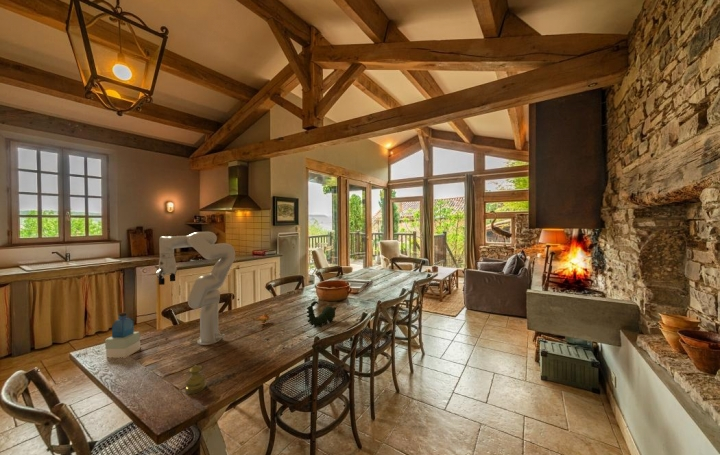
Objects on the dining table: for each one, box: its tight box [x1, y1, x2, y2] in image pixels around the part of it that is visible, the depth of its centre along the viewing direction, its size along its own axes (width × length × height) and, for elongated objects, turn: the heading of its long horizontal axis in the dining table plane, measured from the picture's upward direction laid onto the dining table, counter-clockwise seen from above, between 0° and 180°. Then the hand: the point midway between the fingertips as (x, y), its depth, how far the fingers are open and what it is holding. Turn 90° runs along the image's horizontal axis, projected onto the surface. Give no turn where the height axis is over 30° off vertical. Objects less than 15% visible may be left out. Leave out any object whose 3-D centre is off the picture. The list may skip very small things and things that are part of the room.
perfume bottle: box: [111, 311, 135, 338], centre depth 150 cm, size 6×6×12 cm
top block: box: [104, 331, 141, 350], centre depth 150 cm, size 10×10×5 cm
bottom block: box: [105, 340, 141, 359], centre depth 150 cm, size 10×10×5 cm
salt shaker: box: [185, 364, 206, 395], centre depth 119 cm, size 7×7×10 cm
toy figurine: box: [306, 300, 337, 328], centre depth 193 cm, size 9×19×25 cm
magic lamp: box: [251, 305, 273, 323], centre depth 193 cm, size 7×18×11 cm, turn 150°
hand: (167, 282), depth 175 cm, fingers open, 9 cm apart
